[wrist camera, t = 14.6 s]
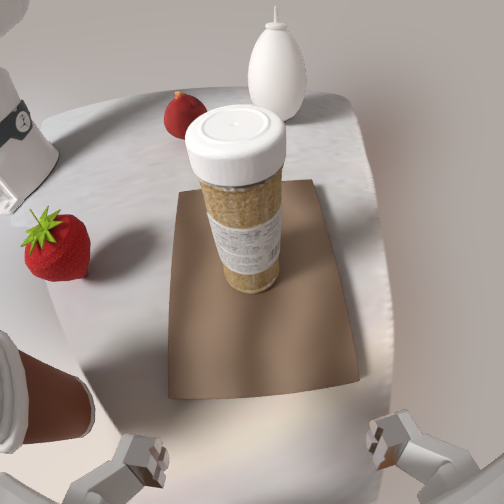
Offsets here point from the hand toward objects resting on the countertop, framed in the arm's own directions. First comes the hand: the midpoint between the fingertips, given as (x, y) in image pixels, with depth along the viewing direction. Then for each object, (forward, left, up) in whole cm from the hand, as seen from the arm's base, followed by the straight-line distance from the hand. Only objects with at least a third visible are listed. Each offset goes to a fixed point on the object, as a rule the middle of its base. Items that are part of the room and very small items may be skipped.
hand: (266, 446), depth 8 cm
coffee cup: (-18, 0, -11) cm, 21 cm away
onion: (-7, +34, -11) cm, 37 cm away
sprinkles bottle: (0, +12, -9) cm, 15 cm away
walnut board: (0, +12, -11) cm, 16 cm away
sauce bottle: (+6, +37, -11) cm, 39 cm away
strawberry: (-18, +14, -11) cm, 25 cm away
